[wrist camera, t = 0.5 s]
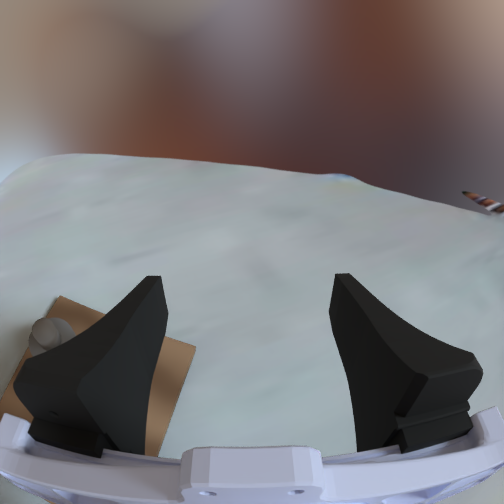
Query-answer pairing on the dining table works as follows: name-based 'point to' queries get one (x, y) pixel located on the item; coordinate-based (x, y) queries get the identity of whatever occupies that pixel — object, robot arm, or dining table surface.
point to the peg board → (78, 320)
